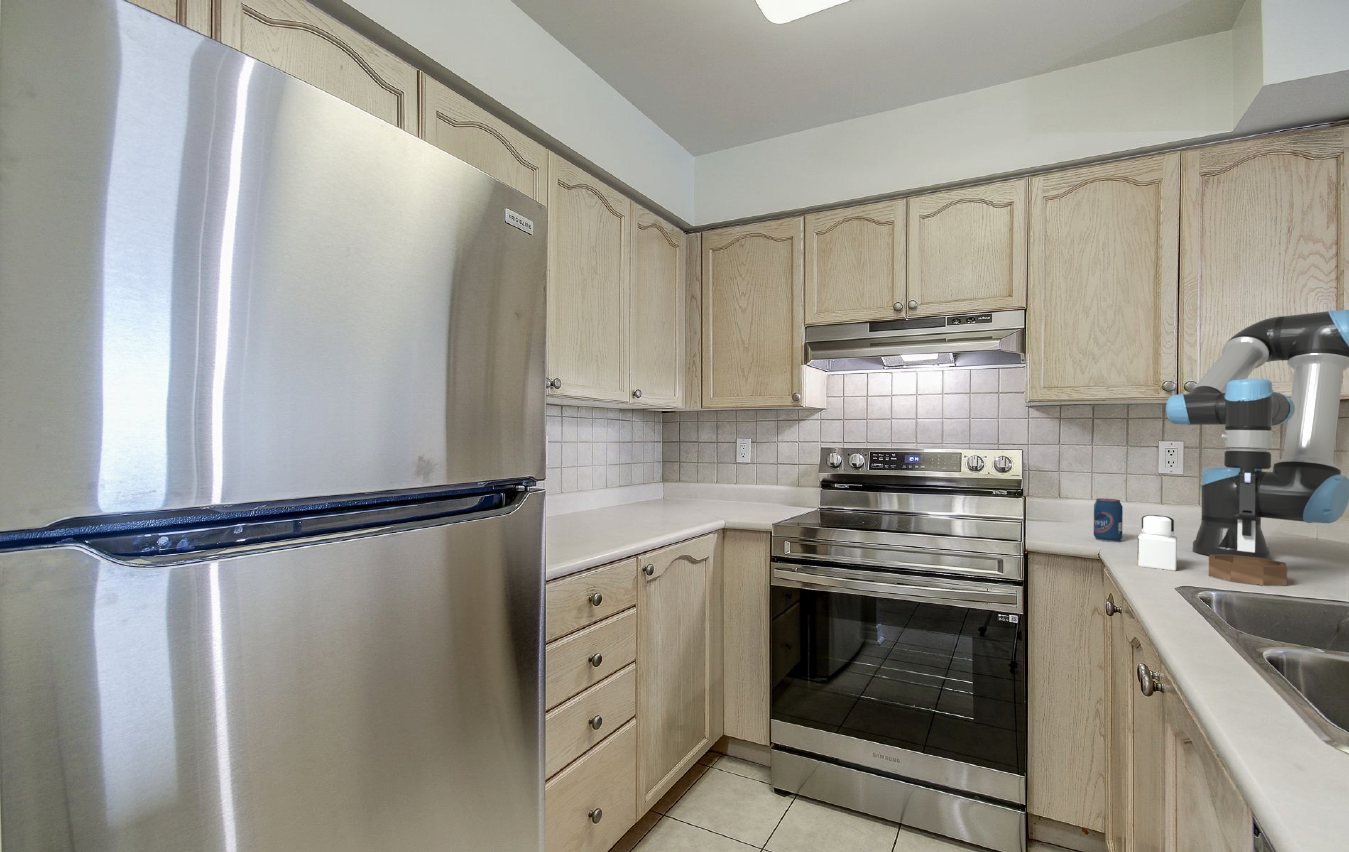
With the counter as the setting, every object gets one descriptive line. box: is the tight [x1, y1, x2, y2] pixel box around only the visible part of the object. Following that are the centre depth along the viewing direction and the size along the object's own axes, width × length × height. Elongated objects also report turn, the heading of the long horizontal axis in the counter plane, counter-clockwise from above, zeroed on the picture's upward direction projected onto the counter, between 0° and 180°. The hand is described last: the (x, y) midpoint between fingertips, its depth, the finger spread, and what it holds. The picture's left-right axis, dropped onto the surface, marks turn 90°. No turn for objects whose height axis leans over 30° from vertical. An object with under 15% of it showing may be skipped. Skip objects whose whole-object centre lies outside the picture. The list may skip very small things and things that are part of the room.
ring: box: [1208, 555, 1288, 586], centre depth 137 cm, size 12×12×4 cm
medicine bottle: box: [1137, 514, 1178, 572], centre depth 148 cm, size 7×7×12 cm
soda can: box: [1093, 497, 1124, 543], centre depth 184 cm, size 7×7×12 cm
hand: (1245, 547), depth 136 cm, fingers open, 13 cm apart
